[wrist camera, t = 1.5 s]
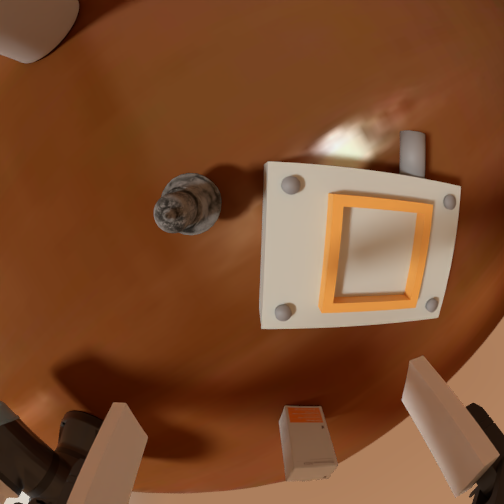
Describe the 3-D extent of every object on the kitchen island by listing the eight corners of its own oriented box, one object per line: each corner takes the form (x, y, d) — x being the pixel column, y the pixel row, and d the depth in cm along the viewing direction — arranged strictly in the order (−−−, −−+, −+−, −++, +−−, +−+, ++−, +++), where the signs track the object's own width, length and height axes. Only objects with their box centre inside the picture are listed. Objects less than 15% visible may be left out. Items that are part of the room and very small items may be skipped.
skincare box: (321, 404, 37) (340, 464, 25) (313, 421, 38) (328, 479, 26) (283, 404, 37) (293, 468, 25) (277, 421, 38) (285, 482, 26)
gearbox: (259, 307, 32) (262, 336, 26) (265, 118, 27) (270, 102, 20) (418, 301, 33) (444, 323, 27) (437, 145, 27) (469, 142, 21)
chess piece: (214, 166, 28) (193, 158, 16) (231, 218, 29) (222, 246, 18) (162, 184, 28) (113, 190, 17) (180, 235, 30) (142, 271, 18)
